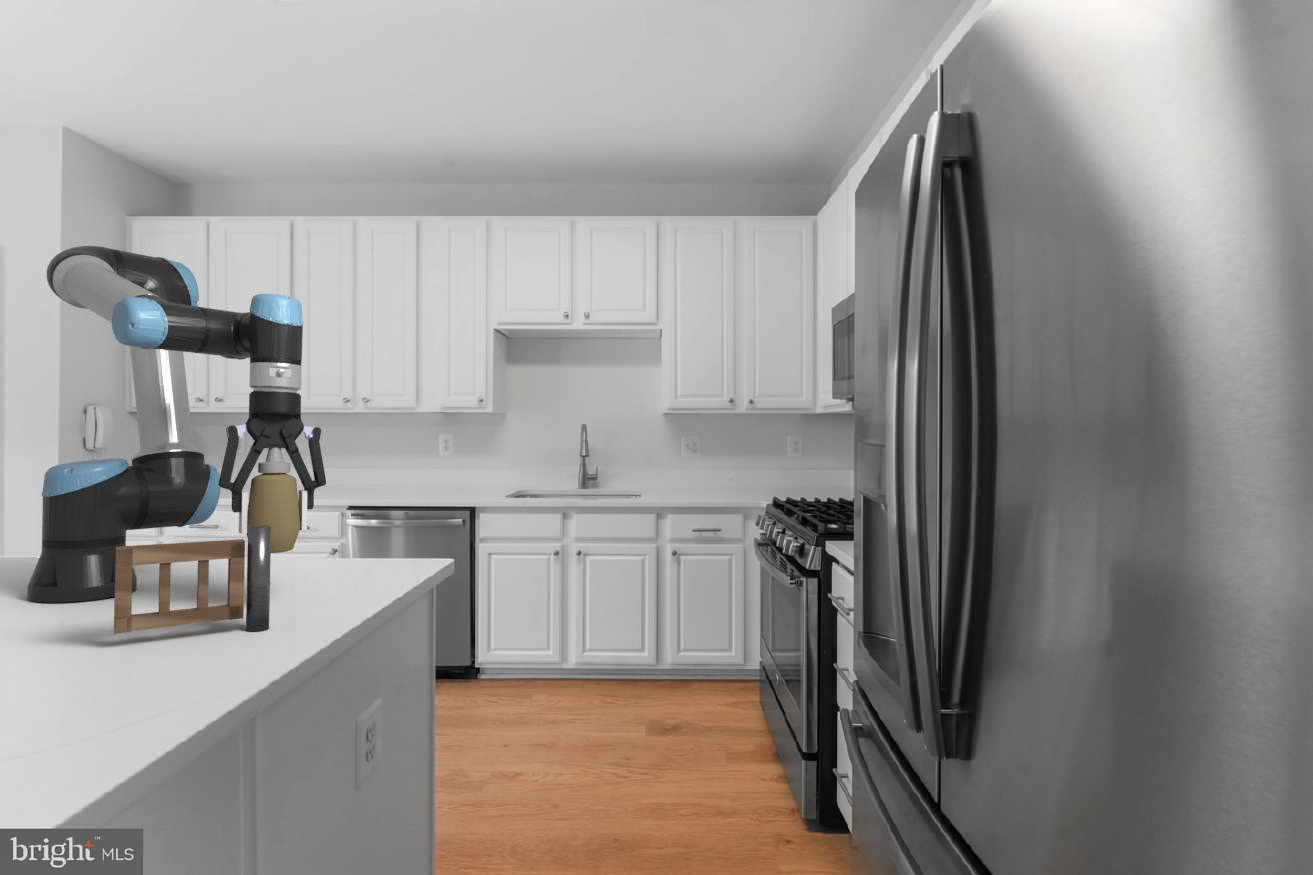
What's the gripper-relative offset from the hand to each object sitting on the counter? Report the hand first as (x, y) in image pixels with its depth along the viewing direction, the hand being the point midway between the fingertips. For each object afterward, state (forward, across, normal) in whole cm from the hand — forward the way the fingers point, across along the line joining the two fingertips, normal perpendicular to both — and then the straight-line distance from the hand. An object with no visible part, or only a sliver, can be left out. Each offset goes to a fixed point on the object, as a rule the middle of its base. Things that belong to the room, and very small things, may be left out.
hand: (273, 531), depth 121 cm
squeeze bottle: (+3, 0, 0) cm, 3 cm away
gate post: (+13, -4, -12) cm, 18 cm away
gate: (+11, -14, -12) cm, 21 cm away
